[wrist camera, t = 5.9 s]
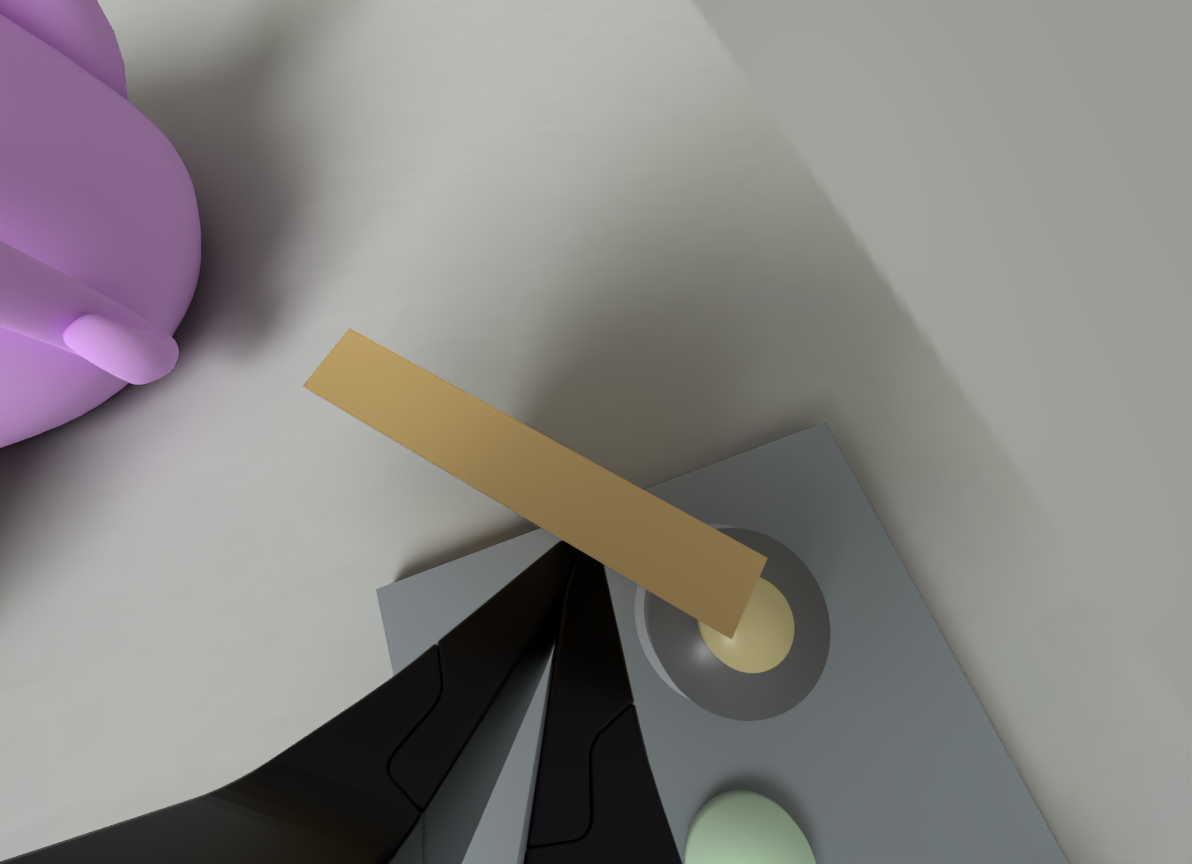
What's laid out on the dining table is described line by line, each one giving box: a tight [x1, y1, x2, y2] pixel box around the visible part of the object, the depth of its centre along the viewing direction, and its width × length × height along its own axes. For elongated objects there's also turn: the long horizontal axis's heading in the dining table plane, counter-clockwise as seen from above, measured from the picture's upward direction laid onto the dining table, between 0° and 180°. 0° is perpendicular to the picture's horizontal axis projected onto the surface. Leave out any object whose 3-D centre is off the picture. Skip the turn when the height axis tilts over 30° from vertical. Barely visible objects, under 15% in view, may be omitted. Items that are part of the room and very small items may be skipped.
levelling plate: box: [376, 422, 1069, 864], centre depth 13 cm, size 20×17×2 cm
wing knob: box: [303, 328, 831, 721], centre depth 11 cm, size 12×5×9 cm, turn 60°
